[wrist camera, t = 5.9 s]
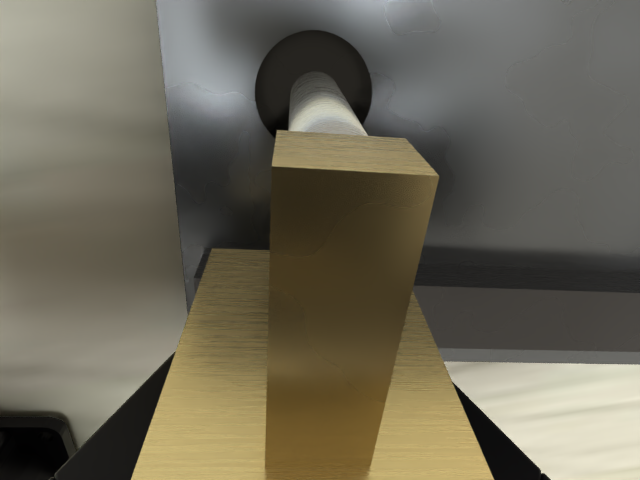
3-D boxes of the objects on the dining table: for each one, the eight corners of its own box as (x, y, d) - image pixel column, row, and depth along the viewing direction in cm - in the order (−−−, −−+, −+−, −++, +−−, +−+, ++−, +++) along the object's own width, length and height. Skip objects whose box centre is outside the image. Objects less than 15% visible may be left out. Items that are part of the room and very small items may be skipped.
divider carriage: (365, 355, 12) (445, 730, 6) (225, 352, 11) (144, 752, 5) (417, 79, 8) (817, 291, 2) (212, 62, 8) (-115, 258, 2)
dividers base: (772, 345, 14) (900, 435, 11) (199, 333, 13) (168, 435, 9) (1037, 30, 9) (1391, 38, 6) (165, -63, 8) (79, -113, 5)
